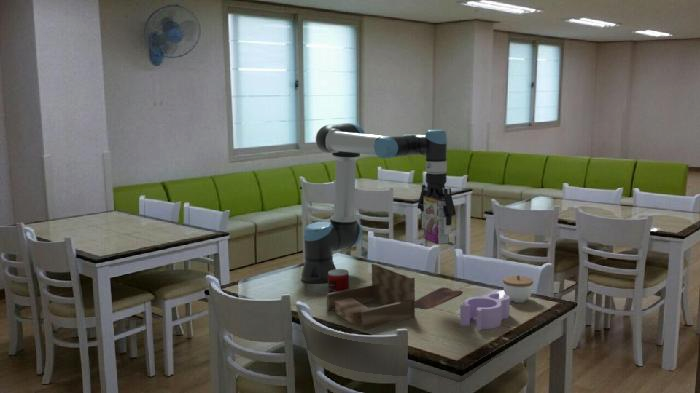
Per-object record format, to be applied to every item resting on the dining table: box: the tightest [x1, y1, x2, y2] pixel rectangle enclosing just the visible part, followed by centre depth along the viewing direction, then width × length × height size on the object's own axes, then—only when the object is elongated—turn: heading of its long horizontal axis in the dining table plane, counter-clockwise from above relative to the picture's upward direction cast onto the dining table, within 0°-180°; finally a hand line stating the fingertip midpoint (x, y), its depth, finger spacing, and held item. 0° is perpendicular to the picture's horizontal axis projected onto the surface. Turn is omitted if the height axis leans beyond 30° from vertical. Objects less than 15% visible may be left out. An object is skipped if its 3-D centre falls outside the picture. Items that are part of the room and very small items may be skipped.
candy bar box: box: [423, 196, 450, 246], centre depth 235 cm, size 11×5×16 cm, turn 22°
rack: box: [326, 262, 416, 330], centre depth 225 cm, size 24×21×14 cm
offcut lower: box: [335, 309, 361, 326], centre depth 223 cm, size 14×7×2 cm, turn 29°
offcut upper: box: [335, 298, 371, 320], centre depth 222 cm, size 14×7×2 cm, turn 27°
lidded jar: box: [502, 274, 534, 303], centre depth 236 cm, size 11×11×9 cm
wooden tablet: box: [415, 286, 463, 310], centre depth 240 cm, size 26×2×10 cm
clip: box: [459, 292, 511, 331], centre depth 217 cm, size 20×12×7 cm, turn 134°
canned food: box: [327, 268, 350, 293], centre depth 241 cm, size 8×8×11 cm
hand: (436, 231), depth 235 cm, fingers closed on candy bar box, 12 cm apart
